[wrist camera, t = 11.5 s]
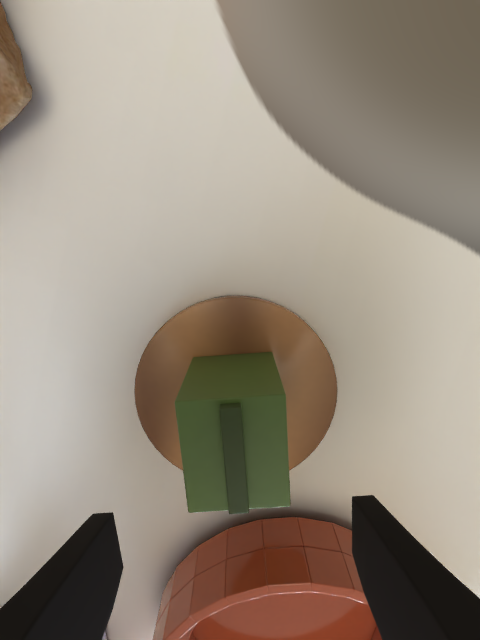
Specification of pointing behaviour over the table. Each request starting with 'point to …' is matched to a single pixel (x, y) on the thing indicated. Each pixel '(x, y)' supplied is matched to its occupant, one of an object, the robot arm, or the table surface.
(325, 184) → the table surface
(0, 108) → the stone cup
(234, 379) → the green grooved block
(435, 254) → the table surface
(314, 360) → the coaster
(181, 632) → the bowl
